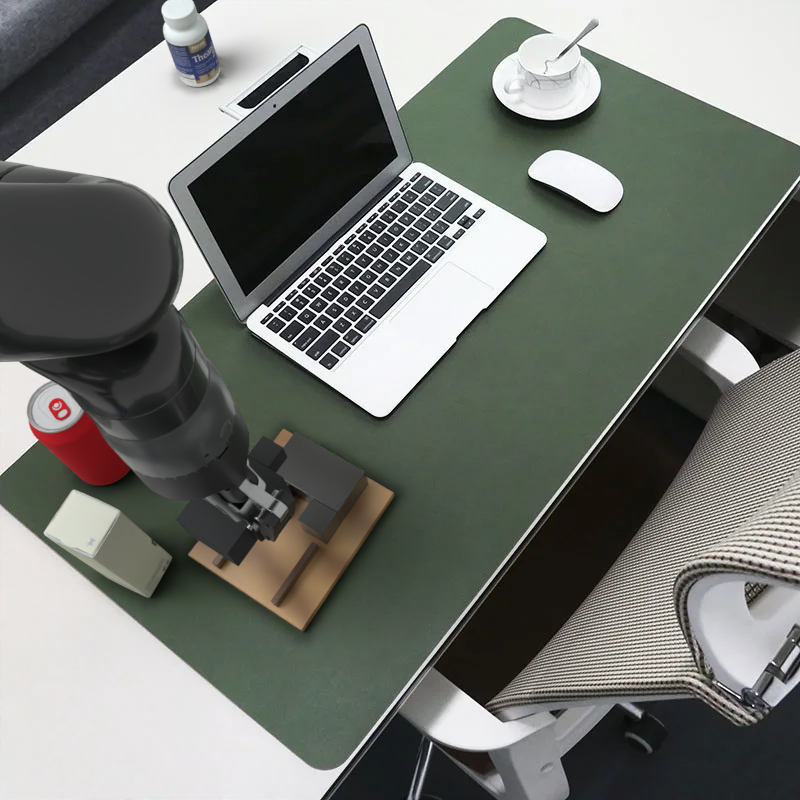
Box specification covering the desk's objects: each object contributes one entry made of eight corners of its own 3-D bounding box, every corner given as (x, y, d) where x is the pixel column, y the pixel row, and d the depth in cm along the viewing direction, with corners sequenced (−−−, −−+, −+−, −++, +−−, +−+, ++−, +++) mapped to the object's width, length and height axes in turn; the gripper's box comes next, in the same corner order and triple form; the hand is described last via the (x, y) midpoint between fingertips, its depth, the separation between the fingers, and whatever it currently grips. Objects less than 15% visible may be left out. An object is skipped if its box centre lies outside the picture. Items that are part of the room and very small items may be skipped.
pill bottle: (207, 93, 105) (184, 27, 97) (171, 82, 107) (146, 16, 98) (229, 65, 108) (209, -2, 99) (194, 54, 109) (171, -13, 100)
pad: (238, 566, 64) (227, 553, 61) (188, 534, 66) (175, 519, 62) (306, 473, 67) (298, 456, 64) (257, 444, 69) (247, 426, 66)
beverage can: (118, 419, 85) (69, 360, 74) (151, 461, 82) (105, 406, 72) (65, 456, 83) (7, 402, 73) (96, 500, 81) (41, 451, 70)
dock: (303, 632, 74) (295, 622, 70) (190, 557, 78) (177, 544, 74) (394, 496, 79) (391, 480, 76) (284, 432, 83) (277, 414, 79)
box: (175, 557, 78) (126, 510, 66) (149, 600, 76) (94, 560, 65) (128, 535, 79) (71, 486, 68) (102, 577, 77) (40, 534, 66)
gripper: (44, 411, 51) (140, 505, 66) (226, 529, 47) (284, 600, 62) (124, 321, 54) (198, 431, 69) (303, 425, 50) (340, 518, 65)
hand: (238, 511), depth 66 cm, fingers closed on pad, 5 cm apart
